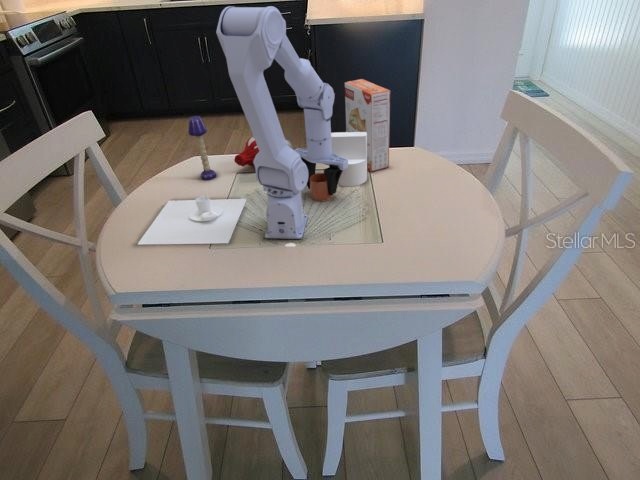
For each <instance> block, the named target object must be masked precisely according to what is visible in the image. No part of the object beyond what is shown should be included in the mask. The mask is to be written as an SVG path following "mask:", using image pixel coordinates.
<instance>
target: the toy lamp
mask: <svg viewBox="0 0 640 480" xmlns="http://www.w3.org/2000/svg"><path fill="white" fill-rule="evenodd" d="M207 133H208V129H207V127H206V124H205V123H204V120H203V119H202V117H201V116H199V115H194V116H191V117H189V119H188V134H189V136H192V137H195V138H196V143H197V145H198V146H197V148H198V150H199V155H200V160H201V164H202V169H203V171H202V172H201V174H200V180H203V181H209V180H210V181H211V180H214V179H215V178H216V177H217V173H216V171H215V170H214V169H211V166H210V162H209V157H208V155H207V154H208V153H207V149H206V144H205V139H204V136H203V135H206V134H207Z"/></svg>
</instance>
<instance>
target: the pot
mask: <svg viewBox="0 0 640 480" xmlns="http://www.w3.org/2000/svg"><path fill="white" fill-rule="evenodd" d="M309 180H310V189H309V191H310V197H311V198H312V199H313V200H315V201H318V202H325V201H329V200H331V199H332V198H333V197H334V195H335V194H333V195H329V193H328V185H327V180H326V176H325V174H324V172H318V173H315V174H314V175H312V176H310V179H309Z"/></svg>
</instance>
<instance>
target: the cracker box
mask: <svg viewBox="0 0 640 480" xmlns="http://www.w3.org/2000/svg"><path fill="white" fill-rule="evenodd" d="M344 102H345V103H344V104H345V132H367V171H370V172H371V173H372V172H377V171H380V170H384V169H387V168H389V167H390V128H391V127H390V125H391V124H390V123H391V121H390V120H391V118H390V117H391V90H390V89H388V88H386V87H382V86H380V85H377V84H375V83H373V82H370V81H368V80H366V79H364V78H360V79H355V80H348V81H345V82H344Z"/></svg>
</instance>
